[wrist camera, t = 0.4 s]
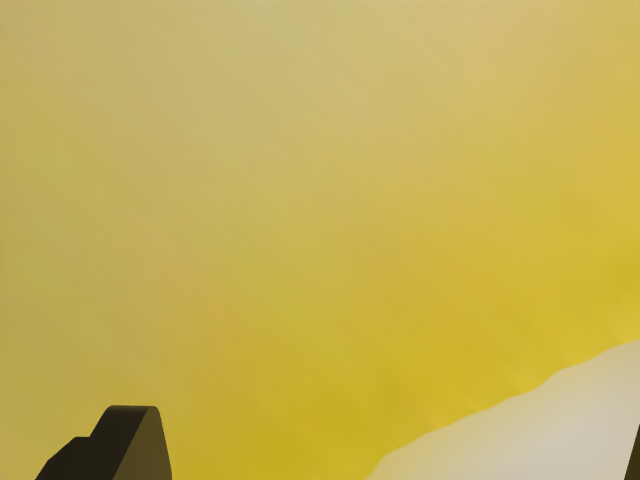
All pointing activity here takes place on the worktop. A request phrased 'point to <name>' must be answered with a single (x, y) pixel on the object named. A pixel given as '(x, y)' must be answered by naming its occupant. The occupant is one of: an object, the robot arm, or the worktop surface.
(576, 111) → the worktop surface
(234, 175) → the worktop surface
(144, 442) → the robot arm
